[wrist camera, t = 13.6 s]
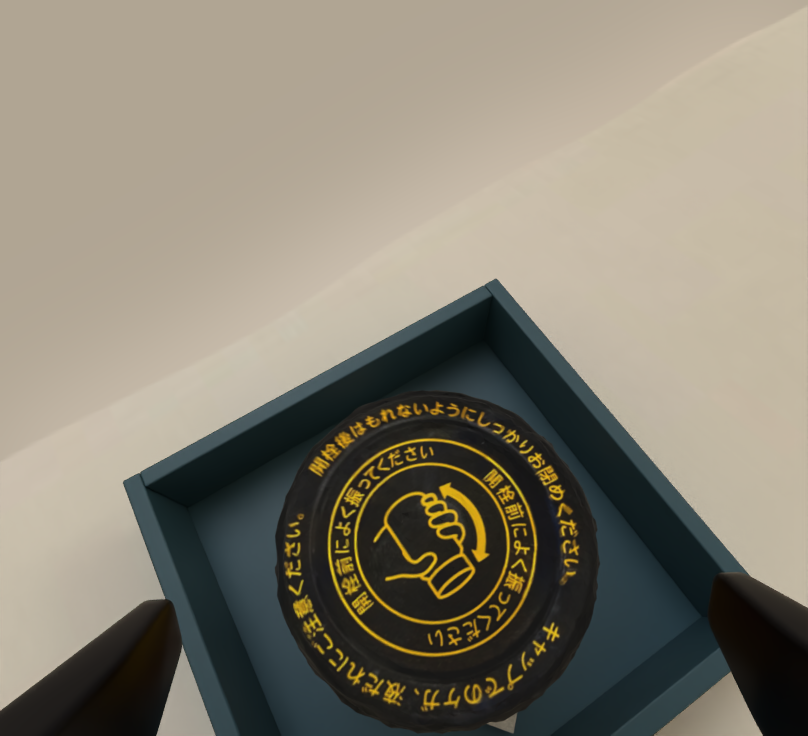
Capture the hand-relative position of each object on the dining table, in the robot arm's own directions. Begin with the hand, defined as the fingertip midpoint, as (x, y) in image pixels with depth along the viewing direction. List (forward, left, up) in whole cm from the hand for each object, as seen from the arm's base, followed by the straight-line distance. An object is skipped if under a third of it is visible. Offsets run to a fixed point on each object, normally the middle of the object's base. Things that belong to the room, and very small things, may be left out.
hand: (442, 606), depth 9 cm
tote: (+1, +2, -11) cm, 11 cm away
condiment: (+1, +1, -11) cm, 11 cm away
